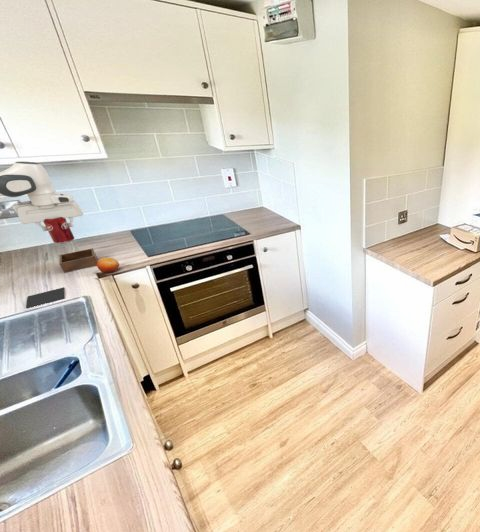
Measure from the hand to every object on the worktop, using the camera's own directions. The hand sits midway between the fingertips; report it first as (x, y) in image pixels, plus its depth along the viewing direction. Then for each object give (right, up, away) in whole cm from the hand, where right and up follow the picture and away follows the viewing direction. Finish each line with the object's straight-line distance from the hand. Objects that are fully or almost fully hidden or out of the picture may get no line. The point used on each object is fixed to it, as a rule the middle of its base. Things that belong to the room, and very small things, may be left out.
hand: (58, 228), depth 148 cm
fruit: (+19, -20, +6) cm, 28 cm away
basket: (-1, -17, +12) cm, 20 cm away
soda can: (0, -6, +3) cm, 6 cm away
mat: (+11, -31, -15) cm, 36 cm away
